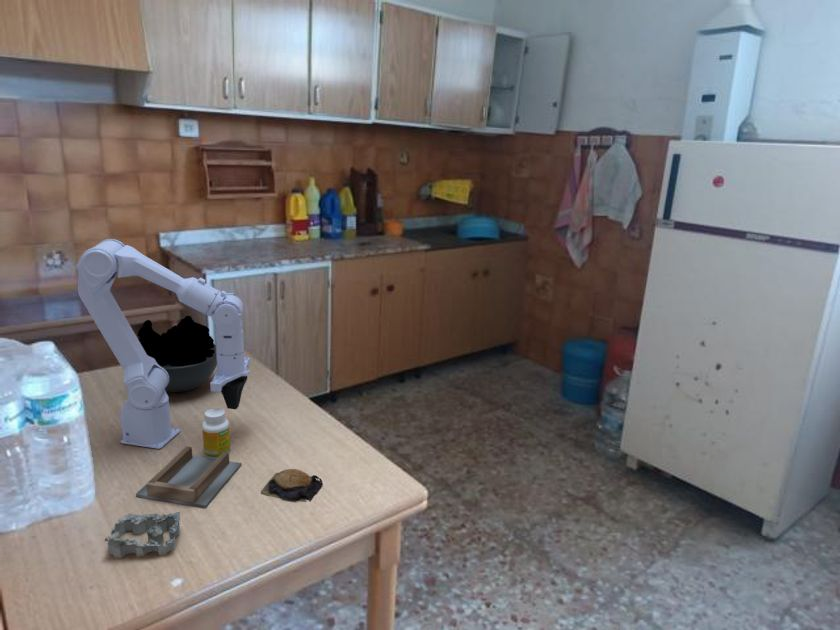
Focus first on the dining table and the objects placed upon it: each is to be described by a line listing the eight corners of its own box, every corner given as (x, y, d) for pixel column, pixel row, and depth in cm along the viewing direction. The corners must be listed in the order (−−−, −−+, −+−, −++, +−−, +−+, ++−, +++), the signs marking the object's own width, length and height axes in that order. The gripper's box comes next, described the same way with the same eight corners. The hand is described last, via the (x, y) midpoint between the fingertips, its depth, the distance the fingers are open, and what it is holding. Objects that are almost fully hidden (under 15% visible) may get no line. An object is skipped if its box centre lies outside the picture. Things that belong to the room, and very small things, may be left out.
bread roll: (257, 497, 111) (257, 481, 110) (277, 473, 119) (277, 457, 118) (309, 508, 109) (309, 491, 108) (326, 482, 117) (326, 466, 116)
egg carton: (103, 561, 93) (100, 540, 92) (120, 530, 100) (117, 510, 99) (172, 558, 95) (170, 537, 93) (184, 527, 102) (183, 508, 100)
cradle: (136, 496, 109) (134, 482, 108) (179, 456, 122) (177, 443, 121) (205, 508, 107) (204, 493, 106) (241, 465, 120) (240, 452, 119)
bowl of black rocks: (236, 379, 159) (233, 314, 153) (189, 411, 140) (183, 339, 134) (173, 367, 163) (168, 304, 158) (120, 397, 145) (112, 326, 139)
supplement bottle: (222, 461, 121) (219, 420, 118) (198, 457, 122) (195, 416, 119) (235, 448, 126) (233, 408, 123) (212, 444, 127) (210, 404, 124)
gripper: (231, 366, 118) (234, 425, 122) (261, 341, 131) (263, 395, 135) (199, 362, 119) (203, 421, 123) (232, 338, 132) (235, 391, 136)
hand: (232, 407), depth 129 cm, fingers closed
